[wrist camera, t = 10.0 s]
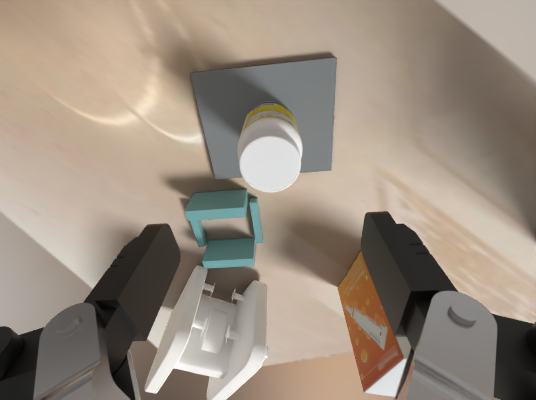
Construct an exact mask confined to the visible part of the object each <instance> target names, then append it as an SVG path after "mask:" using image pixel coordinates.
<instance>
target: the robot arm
mask: <svg viewBox="0 0 536 400" xmlns="http://www.w3.org/2000/svg"><path fill="white" fill-rule="evenodd" d="M361 251H362V256H363V259H364V261H365V264H366V266H367V269H368V271H369V274H370V276H371V279H372V281H373V284H374V286H375V289H376V291H377V294H378V296H379V299H380V301H381V304H382V306H383V309H384V312H385V314H386V317H387V319H388V322H389V324H390V327H391V329H392V332H393V334H394V337H407V339H408V341H409V343H410V346H411V348H410V350H409V353H408V357H407V360H406V363H405V366H404V369H403V373H402V376H401V379H400V382H399V385H398V389H397V392H396V395H395V398H394V400H493V398H494V397H495V398H498V399H501V400H536V322H535V323H534V324H532V323H528V322H524V321H519V320H515V319H511V318H507V317H502V316H498V315H495V314H492V313H490V311H489V310H488V309H487V308H486V307H485V306H484V305H482V304H481V303H480V302H478V301H477V300H475V299H474V298H472V297H470V296H468V295H465V294H462V293H459V292H458V291H457V290H456V288H455V287H454V285H453V284H452V283H451V281H450V280H449V278H448V277H447V276H446V274H445V273H444V272H443V270H442V269H441V267H440V266H439V265H438V263H437V262H436V260H435V259H434V258H433V256H432V255H431V254H430V253H429V251H428V249H427V248H426V247H425V245H423V242H422V241H421V240H420V238H419V237H418V235H417V234H416V233H415V232H414V231H413V230H411V229H410V228H409V227H407V226H406V225H404V224H396V223H395V221H394V220H393V218H392V217H391V215H390V214H389V212H387V211H384V212H367V213H366V214H365V218H364V225H363V231H362V238H361ZM179 263H180V250H179V247H178V245H177V242H176V240H175V237H174V235H173V232H172V230H171V228H170V226H169V225H168V224H166V223H165V224H149V225H147V226H146V227H145V228H144V230H143V231H142V233H141V234H140V235H139V237H136V238H134V239H133V240H132V241H131V242H129V243H128V244H127V245H126V246H124V248H123V249H122V250H121V252H120V253H119V255H118V256H117V259H115V260H114V261H113V263H112V264H111V265H110V266H111V267H110V268H108V269H107V271H106V272H105V274H104V275H103V276H102V278H101V279H100V280H99V282H98V283H97V284H96V286H95V287H94V289H93V290H92V292H91V293H90V294H89V295H88V297H87V298H86V299H85V301H84V302H83V303H79V304H75V305H73V306H70V307H68V308H66V309H64V310H63V311H61V312H60V313H58V314H57V315H56V316H55V317H54V318H52V319H51V320H50V322H49V323H48V324H47V325H46V326H45V327H43V328H40V329H37V330H34V331H31V332H28V333H24V334H21V335H18V334H17V333H15V332H14V331H13V330H11V329H10V328H9V327H4V326H3V327H0V400H141V398H140V393H139V388H138V384H137V380H136V374H135V370H134V366H133V361H132V356H131V353H130V351H129V348H130V346H131V344H132V342H133V341H146V340H147V337H148V335H149V333H150V330H151V328H152V326H153V323H154V321H155V319H156V316H157V314H158V312H159V310H160V307H161V305H162V303H163V300H164V298H165V296H166V293H167V291H168V289H169V287H170V284H171V282H172V280H173V277H174V275H175V273H176V270H177V268H178V266H179Z"/></svg>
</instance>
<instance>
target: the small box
mask: <svg viewBox="0 0 536 400" xmlns="http://www.w3.org/2000/svg"><path fill="white" fill-rule="evenodd" d="M338 292H339V295H340V299H341V303H342V307H343V311H344V315H345V319H346V323H347V327H348V331H349V335H350V339H351V343H352V347H353V351H354V355H355V359H356V362H357V367H358V371H359V374H360V378H361V383H362V386H363V391H364V392H365V393H371V394H380V395H386V396H393V397H395V395H396V392H397V389H398V385H399V382H400V379H401V376H402V373H403V369H404V366H405V363H406V360H407V357H408V353H409V350H410V348H411V346H410V343H409V341H408V339H407V337H394V334H393V332H392V329H391V327H390V324H389V322H388V319H387V317H386V314H385V312H384V309H383V306H382V304H381V301H380V299H379V296H378V294H377V291H376V289H375V286H374V284H373V281H372V279H371V276H370V274H369V271H368V269H367V266H366V264H365V261H364V259H363V256H362V251H360V253H359V255H358V257H357V258H356V260H355V262H354V263H353V265H352V266H351V268H350V269H349V271H348V273H347V274H346V276H345V277H344V279H343V280H342V282H341V283H340V285H339V286H338Z"/></svg>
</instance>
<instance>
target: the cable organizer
mask: <svg viewBox="0 0 536 400" xmlns="http://www.w3.org/2000/svg"><path fill="white" fill-rule="evenodd" d="M207 271H208V269H207V268H205V269H204V267H202V266H199V265H197V266H196V267H195V269H194V270H193V272H192V274H191V276H190V278H189V280H188V282H187V284H186V286H185V288H184V290H183V292H182V294H181V295H180V297H179V299H178V301H177V303H176V305H175V307H174V309H173V311H172V313H171V316H170V318H169V321H168V323H167V326H166V329H165V332H164V334H163V337H162V340H161V343H160V345H159V348H158V351H157V354H156V356H155V359H154V362H153V364H152V367H151V370H150V373H149V375H148V378H147V382H146V385H145V391H146V392H151V393H157V392H158V390H159V389H160V387H161V386H162V384H163V383H164V381H165V380H166V378H167V377H168V375H169V374H170V372H171V371H172V369H173V368H176V369H180V370H184V371H189V372H193V373H198V374H202V375H207V376H210V378H209V384H208V389H207V400H226V399H227V398H228V397H229V396H230V395H231V394H233V393H234V392H235V391H236V390H237V389H238V388H239V387H240V386H241V385H243V384H244V383H245V382H246V381H247V380H248V379H249V378H250V377H252V376H253V375H254V374H255V373H256V372H257V371H258V370H259V368H261V367H262V364H263V361H264V360H265V358H267V357H268V346H267V345H266V344H267V290H268V289H267V285H266V284H265V283H262V282H259V281H256V280H255V281H253V282H252V283H251V284H250V285H249V286H248V288H247V289H246V290H245V292H244V293H243V294H242V295H241V294H237V293H235V291H236V289H235V290H233V294H232V297H231V299H232V301H233V299H236V300H238V301H237V302H236V304H233V303H230V302H226V301H223V300H220V299H217V298H213V297H211V296H207V295H204V294H202V290H203V289H204V290H207V291H211V292H210V293H211V295H212V292H213V291H214V286H215V283H213V285H209V284H206V283H205V280H206V276H207ZM215 282H216V281H215Z"/></svg>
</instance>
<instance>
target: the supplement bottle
mask: <svg viewBox="0 0 536 400" xmlns="http://www.w3.org/2000/svg"><path fill="white" fill-rule="evenodd" d="M302 151H303V148H302V141H301V137H300V134H299V131H298V128H297V125H296V122H295V119H294V117H293V115H292V113H291V111H290V110H289V109H288V108H287V107H286V106H284V105H283V104H281V103H278V102H274V101H266V102H262V103H259V104H257V105H256V106H254V107H253V108H252V109H251V110H250V111H249V113H248V114H247V116H246V119H245V122H244V125H243V129H242V132H241V135H240V138H239V141H238V146H237V154H238V158H239V168H240V172H241V175H242V177H243V178H244V180H245V181H246V182H247V183H248V184H249V185H250V186H251V187H253V188H255V189H257V190H259V191H263V192H278V191H281V190H284V189H286V188H287V187H289V186H290V185H291V184H292V183H293V182H294V181H295V180H296V179H297V177H298V175H299V172H300V169H301V157H302Z"/></svg>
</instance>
